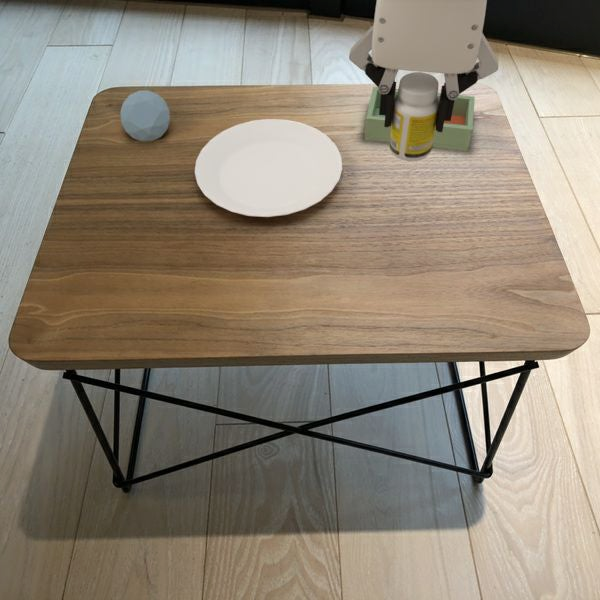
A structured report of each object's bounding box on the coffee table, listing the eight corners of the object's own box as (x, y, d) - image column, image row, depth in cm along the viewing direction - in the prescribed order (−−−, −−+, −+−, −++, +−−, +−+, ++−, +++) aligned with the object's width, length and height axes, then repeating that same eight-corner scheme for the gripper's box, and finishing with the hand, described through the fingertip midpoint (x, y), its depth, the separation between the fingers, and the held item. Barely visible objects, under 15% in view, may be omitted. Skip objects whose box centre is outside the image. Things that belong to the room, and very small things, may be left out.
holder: (371, 108, 98) (373, 86, 95) (469, 118, 96) (474, 96, 92) (364, 140, 93) (365, 118, 90) (467, 151, 91) (472, 129, 88)
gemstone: (130, 91, 97) (120, 85, 92) (178, 98, 97) (171, 93, 92) (125, 140, 98) (115, 137, 93) (172, 147, 98) (165, 144, 93)
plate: (352, 139, 93) (353, 127, 91) (326, 238, 81) (326, 226, 79) (222, 123, 96) (220, 111, 95) (177, 216, 84) (174, 204, 82)
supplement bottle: (438, 144, 70) (450, 78, 63) (419, 168, 67) (430, 101, 61) (400, 131, 71) (408, 64, 65) (381, 153, 69) (387, 87, 62)
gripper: (540, -72, 53) (493, 108, 68) (346, -82, 55) (341, 95, 70) (545, -33, 49) (494, 151, 63) (333, -44, 51) (330, 136, 65)
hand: (414, 120), depth 66 cm, fingers closed on supplement bottle, 4 cm apart
